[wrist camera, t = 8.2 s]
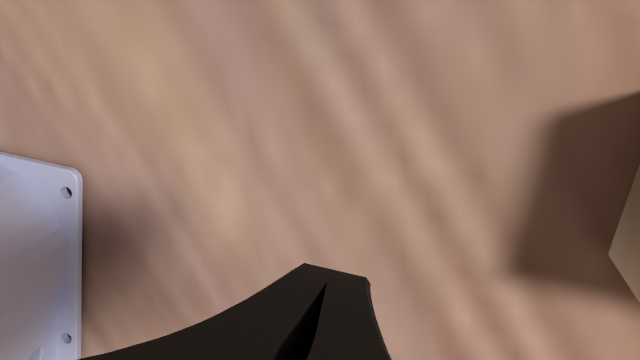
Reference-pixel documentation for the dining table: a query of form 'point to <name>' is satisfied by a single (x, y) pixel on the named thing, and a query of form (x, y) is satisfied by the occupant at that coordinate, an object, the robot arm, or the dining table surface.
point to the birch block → (629, 240)
